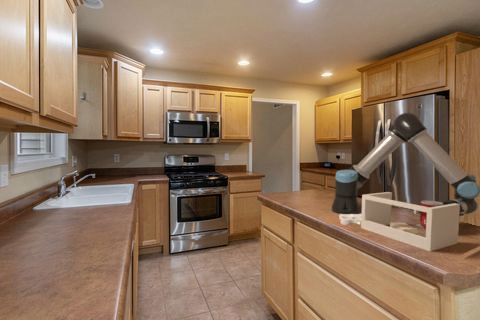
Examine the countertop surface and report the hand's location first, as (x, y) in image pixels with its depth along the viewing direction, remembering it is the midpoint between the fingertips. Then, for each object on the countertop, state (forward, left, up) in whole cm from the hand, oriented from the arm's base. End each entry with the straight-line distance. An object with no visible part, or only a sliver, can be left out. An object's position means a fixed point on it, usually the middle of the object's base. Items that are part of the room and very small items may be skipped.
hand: (425, 213), depth 111 cm
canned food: (0, +5, -7) cm, 8 cm away
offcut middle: (+1, -17, -7) cm, 18 cm away
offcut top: (+1, -17, -5) cm, 18 cm away
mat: (0, +5, -8) cm, 10 cm away
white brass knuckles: (-22, -15, -9) cm, 28 cm away
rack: (+1, -14, -8) cm, 17 cm away
